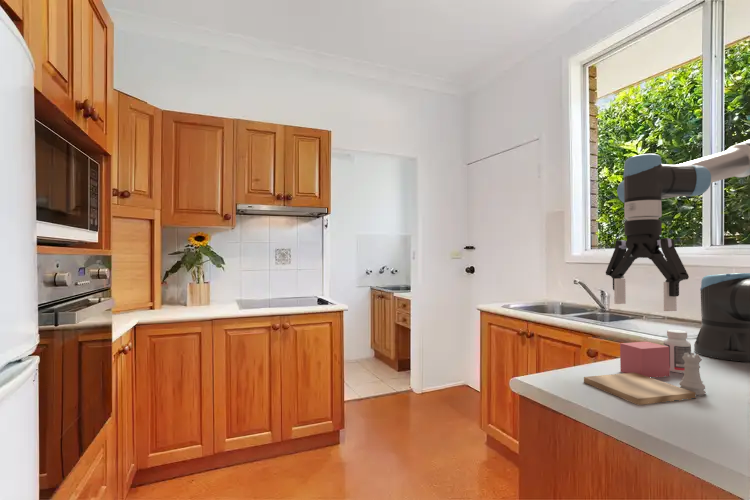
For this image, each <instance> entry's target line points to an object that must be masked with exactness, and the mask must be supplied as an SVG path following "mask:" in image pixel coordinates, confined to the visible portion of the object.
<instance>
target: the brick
mask: <svg viewBox="0 0 750 500" xmlns="http://www.w3.org/2000/svg"><path fill="white" fill-rule="evenodd" d="M619 346H620V347H619V348H620V349H619V350H620V351H619V353H620V355H619V358H620V360H619V361H620V364H619V365H620V366H619V367H620V368H619V369H620V372H622V373H634V372H635V373H638V374H641V375H644V376H647V377H655V378H665V377H664V376H666V377H670V374H671V373H670V372H671V371H670V370H669V347H668V346H664V344H659V343H655V342H650V341H636V342H635V341H633V342H620V343H619Z"/></svg>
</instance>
